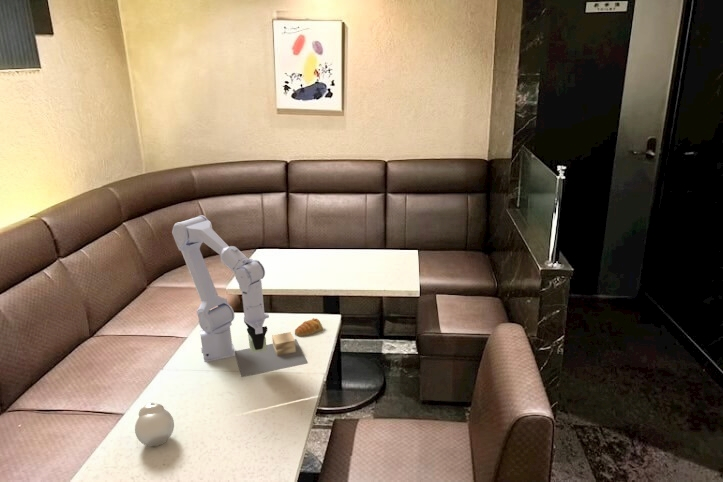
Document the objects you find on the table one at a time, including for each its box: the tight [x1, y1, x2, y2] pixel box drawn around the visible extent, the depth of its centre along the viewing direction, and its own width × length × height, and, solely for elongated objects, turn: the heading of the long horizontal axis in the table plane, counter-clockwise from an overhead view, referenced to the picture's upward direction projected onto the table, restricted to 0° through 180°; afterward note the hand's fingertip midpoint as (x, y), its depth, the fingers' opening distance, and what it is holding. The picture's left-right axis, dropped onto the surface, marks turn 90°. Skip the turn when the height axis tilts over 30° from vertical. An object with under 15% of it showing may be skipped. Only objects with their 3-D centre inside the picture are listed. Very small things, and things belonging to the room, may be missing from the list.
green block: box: [247, 334, 267, 353], centre depth 158 cm, size 4×4×4 cm
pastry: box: [294, 317, 324, 337], centre depth 182 cm, size 9×7×4 cm
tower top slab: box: [271, 331, 295, 350], centre depth 170 cm, size 6×6×2 cm
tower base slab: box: [272, 342, 296, 356], centre depth 171 cm, size 6×6×2 cm
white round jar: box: [134, 402, 175, 447], centre depth 130 cm, size 9×10×10 cm
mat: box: [234, 338, 309, 378], centre depth 167 cm, size 20×16×1 cm
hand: (257, 344), depth 159 cm, fingers closed on green block, 4 cm apart
